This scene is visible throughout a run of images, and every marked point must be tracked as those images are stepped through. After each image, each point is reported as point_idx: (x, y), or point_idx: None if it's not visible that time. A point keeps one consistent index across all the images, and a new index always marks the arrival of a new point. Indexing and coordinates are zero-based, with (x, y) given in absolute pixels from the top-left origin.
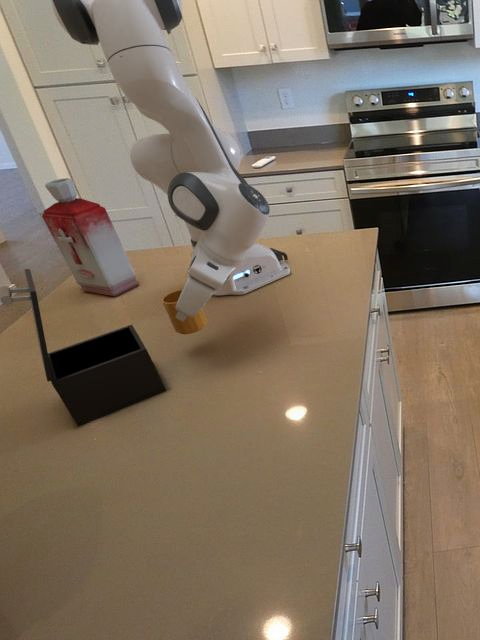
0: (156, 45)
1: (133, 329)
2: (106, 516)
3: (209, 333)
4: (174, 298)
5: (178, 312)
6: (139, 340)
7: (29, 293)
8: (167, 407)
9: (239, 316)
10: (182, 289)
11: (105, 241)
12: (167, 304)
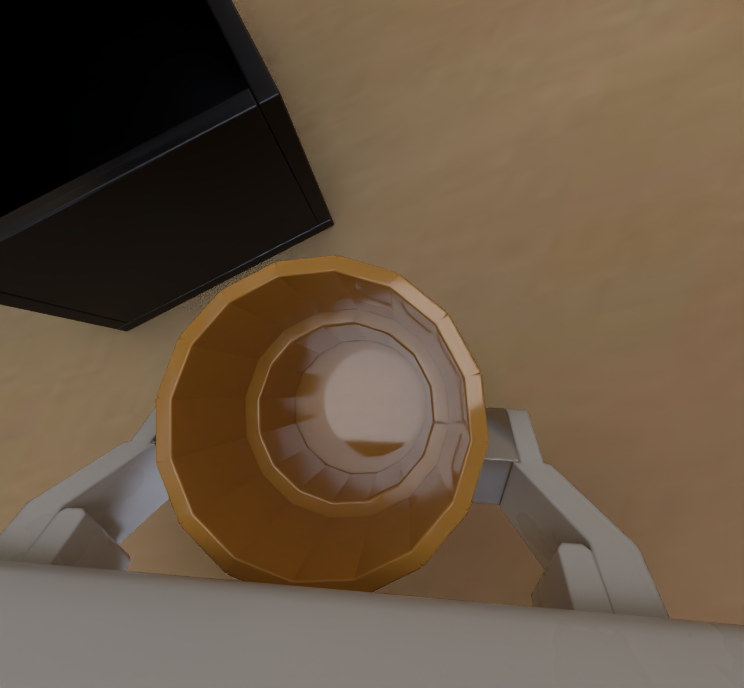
0: None
1: (198, 129)
2: None
3: (518, 404)
4: (429, 333)
5: (139, 432)
6: (32, 214)
7: None
8: (25, 360)
9: (655, 524)
10: (477, 427)
11: None
12: (183, 341)
